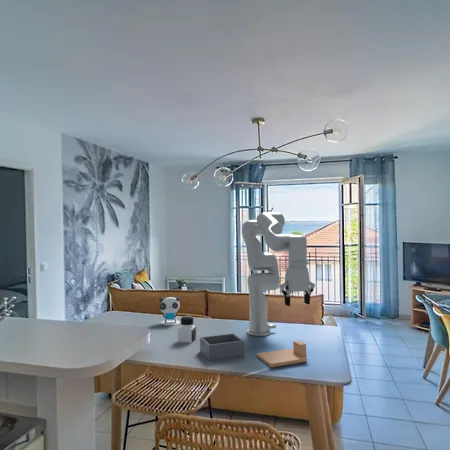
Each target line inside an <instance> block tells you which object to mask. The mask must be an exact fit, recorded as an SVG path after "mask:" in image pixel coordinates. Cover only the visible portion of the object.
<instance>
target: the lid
mask: <svg viewBox="0 0 450 450" xmlns="http://www.w3.org/2000/svg"><path fill="white" fill-rule="evenodd" d="M256 358H258V359H260V360H261V361H262V362H264V363H265V364H266V365H268V366H269V367H271V368H278V367H282V366H283V367H284V366H291V365H297V364H302V363H304V362H307V361H308V358H307V343H305V342H303V341H301V340H294V341H293V349H292V348H284V349H278V350H271V351H270V350H269V351H263V352H258V353H256Z"/></svg>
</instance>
